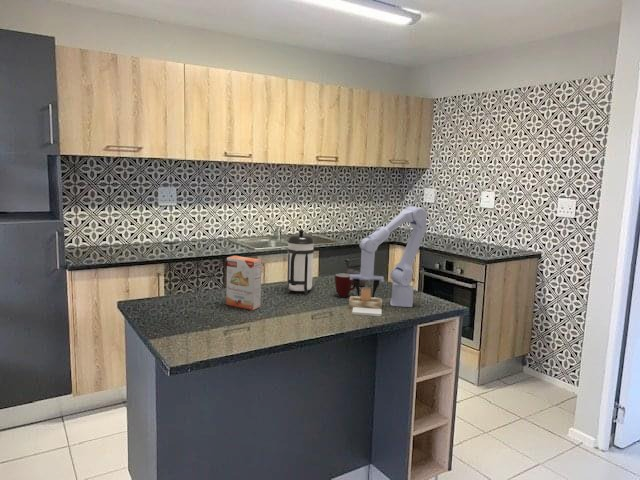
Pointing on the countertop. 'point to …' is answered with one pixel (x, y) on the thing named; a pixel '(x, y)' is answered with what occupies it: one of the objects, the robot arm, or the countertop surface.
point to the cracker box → (244, 282)
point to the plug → (365, 294)
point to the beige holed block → (365, 303)
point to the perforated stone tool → (351, 271)
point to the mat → (367, 311)
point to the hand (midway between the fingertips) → (365, 296)
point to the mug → (343, 284)
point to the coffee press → (300, 263)
